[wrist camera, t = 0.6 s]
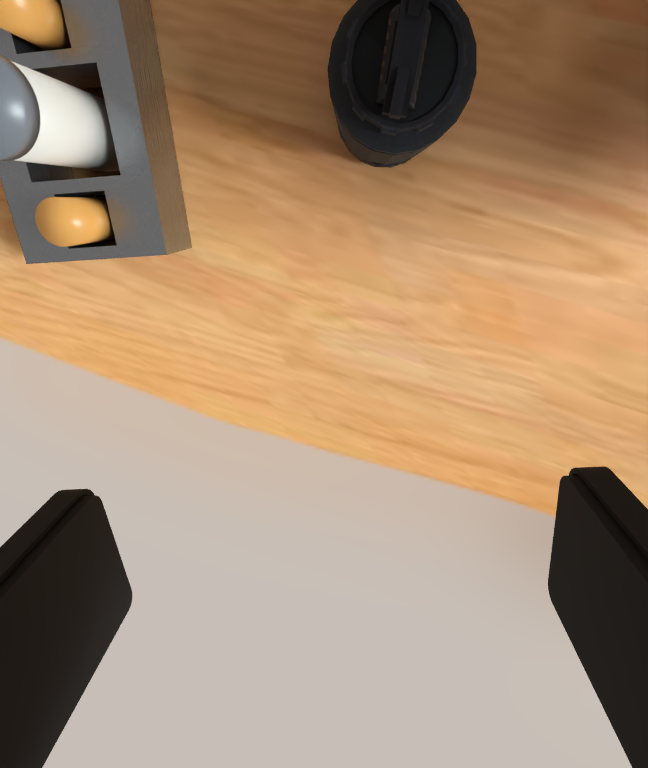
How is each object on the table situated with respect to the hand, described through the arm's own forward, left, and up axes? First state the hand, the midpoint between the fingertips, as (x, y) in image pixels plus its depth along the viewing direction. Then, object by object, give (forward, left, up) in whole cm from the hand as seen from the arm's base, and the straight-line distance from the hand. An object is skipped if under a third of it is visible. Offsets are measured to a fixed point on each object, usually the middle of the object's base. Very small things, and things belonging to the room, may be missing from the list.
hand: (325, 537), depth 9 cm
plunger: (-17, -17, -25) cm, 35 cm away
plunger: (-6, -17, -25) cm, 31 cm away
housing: (-12, -17, -28) cm, 35 cm away
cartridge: (-12, -17, -28) cm, 35 cm away
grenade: (-12, +3, -28) cm, 31 cm away
